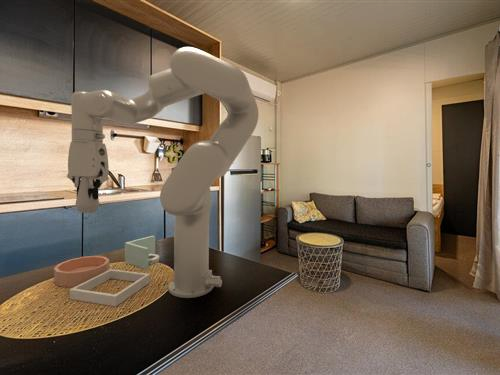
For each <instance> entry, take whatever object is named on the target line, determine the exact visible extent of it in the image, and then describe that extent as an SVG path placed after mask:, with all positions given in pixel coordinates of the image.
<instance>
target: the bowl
mask: <svg viewBox="0 0 500 375" xmlns="http://www.w3.org/2000/svg"><path fill="white" fill-rule="evenodd" d="M110 269H111V268H110V259H109V258H108V257H106V256H102V255H90V256H89V255H88V256H81V257H77V258H76V257H75V258H70V259H68V260H65V261H63V262H60V263H58V264H57V265H56V266H54V267H53V279H54V280H53V281H54V283H55V284H56V286H57V287H58V286H59V287H64V288H74V287H76V286H78V285H80V284H82V283H84V282H86V281H88V280H90V279H92V278H94V277H96V276H98V275H100V274H102V273H104V272H106V271H108V270H110Z"/></svg>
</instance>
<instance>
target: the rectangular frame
mask: <svg viewBox="0 0 500 375" xmlns="http://www.w3.org/2000/svg"><path fill="white" fill-rule="evenodd" d="M111 279H112V280H120V281H127V282H131V284H129V285H128V286H126V287H124V288H123V289H122V290H120V291H119V292H117V293H115V294H113V293H107V292H101V291H94V290H93V289H94V288H96V287H98V286H99V285H101V284H103V283H105V282H107V281H109V280H111ZM132 282H133V283H132ZM150 283H151V274H150V273H145V272H144V273H143V272H135V271H129V270H128V271H127V270H122V269H121V270H120V269H113V268H112V269H111V268H110V270H108V271H106V272H104V273H102V274H100V275H98V276H96V277H94V278H92V279H90V280H88V281H86V282H84V283H82V284H80V285H78V286H74V287H71V288H70V289H69V300H73V301H77V302H79V301H80V302H83V303H84V302H85V303H90V304H91V303H92V304H98V305H104V306H108V307H109V306H110V307H117V306H119V305H120V304H121V303H123V302H124V301H125V300H127V299H128V298H130V297H131V296H133V295H134V294H136V293H137V292H138V291H140V290H142V289H143V288H144V287H145V286H147V285H148V284H150Z"/></svg>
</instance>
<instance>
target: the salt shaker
mask: <svg viewBox="0 0 500 375" xmlns="http://www.w3.org/2000/svg"><path fill="white" fill-rule="evenodd" d="M81 174H82V173H81ZM80 180H81V182H80V186H79V191H78V195H77V194H76V200H75V203H74V204H75V207H76V208H77V210H78V213H81V214H82V213H83V214H87V213H95V212H97V210H98V209H99V206H100V199H99V198H98V199H96V200H95V199H93V197H92V193H91V196H90V199H89V195H88V188H90V186H89V177H81V179H80ZM94 182H95V179H94Z"/></svg>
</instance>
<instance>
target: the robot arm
mask: <svg viewBox="0 0 500 375" xmlns="http://www.w3.org/2000/svg"><path fill="white" fill-rule="evenodd" d="M147 84H148V88H149V89H148V90H147V91H146V92H145V93H143V94H141V95H138V96H136V97H133V98H130V99H127V98H126V97H124V96H121V95H119V94H117V93H116V92H113V91H110V90H107V89H100V90H94V91H90V92H89V91H81V90H80V91H75V92H73V93H72V94H71V102H70V103H71V141H70V144H69V148H68V156H67V157H68V158H67V172H68V173H67V174H66V178H67V179H69V180H70V181H71V182H72V183H73V184H74V185H73V186H74V187H75V189H76V196H77V195H78V191H79V186H80V182H81V177H89V186H90V188H88V195H89V199H90V196H91V193H92V197H93V199H95V200H96V199H99V189H100V188H101V187H102V184H104V183H105V182H107V181H108V180H109V179H110V178H109V173H110V172H109V171H110V170H109V168H110V167H109V155H108V150H107V145H106V144H105V143H104V142H103V141H104V139H105V138H106V135H105V134H104V132H103V130H104V120H108V121H113V122H115V123H119V124H122V125H134V124H137V123H141V122H144V121H146V120H150V119H151V118H153V117H156V116H157V115H158V114H159V113H160V112H162V111H163V110H164V108H166V107H168V106H170V105H174V104H177V103H180V102H182V101H185V100H189V99H192V98H195V97H198V96H201V95H204V94H206V95H209V96H210V97H212V98H214V99H216V100H217V101H219V102H220V104H221V105H222V106H223V107H224V108H225V110H226V111H227V115H226V117H225V119H224V120H222V122H221V123H220V124H219V125H218V127H217V129H216V130H215V132H214V133H213V134H212V136H211V137H210V139H209V140H199V141H196V142H195V143H193V144H192V145H191V146H189V147H188V149H186V151H185V152H184V153H183V155H182V156H181V158H180V159H179V161H178V162H177V163H176V165H175V166H174V168H173V169H172V171H171V172H170V174H169V175H168V177H167V178H166V180H165V182H164V183H163V185H162V187H161V188H160V189H161V190H160V194H159V200H160V201H159V202H160V204H161V206H162V209H163V210H164V211H165V212H167V214H169V215H171V216H174V230H173V234H174V235H173V247H174V248H173V272H174V273H173V280H171V281H170V282H169V283H168V285H167V287H168V288H167V289H168V292H169V294H171V295H172V296H174V297H176V298H181V299H182V298H183V299H191V298H192V299H193V298H198V297H201V296H204V295H207V294H208V293H209V294H210V292H211V291H213V289H214V287H216V288H221V287H222V284H223V279H222V278H221V276H219V275H213V270H212V269H209V264H210V263H209V262H210V260H209V259H210V258H209V256H210V254H209V253H210V252H209V251H210V250H209V249H210V248H209V247H210V243H209V242H210V219H211V218H210V216H211V206H212V190H211V186H212V185H213V183H214V182H215V180H217V179H220V178H222V177H224V176H226V174H227V173H228V171H229V170H230V168H231V167H232V165H233V164H234V162H235V160H236V159H237V157H238V156H239V154H240V153H241V151H242V150H243V149H244V147H245V145H246V144H247V142H248V141H249V139H250V138H251V136H252V135H253V133H254V131H255V129H256V128H257V125H258V121H259V108H258V104H257V101H256V99H255V95H254V94H253V91H252V88H251V86H250V82H249V80H248V78H247V76H246V74H245V73H244V71H242V70H241V69H240V68H239V67H237V66H235V65H234V64H232V63H231V62H230V63H229V62H227V61H225V60H223V59H221V58H218V57H217V56H215V55H212V54H210V53H208V52H206V51H204V50H201V49H199V48H196V47H194V46H183V47H179V48H178V49H176V50H175V51H174V52H173V53H172V55H171V57H170V60H169V68H167V69H165V70H162V71H159V72H156V73H153V74H151V75H150V76H149V77H148V82H147ZM81 173H82V174H81ZM94 179H95V182H94Z"/></svg>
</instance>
